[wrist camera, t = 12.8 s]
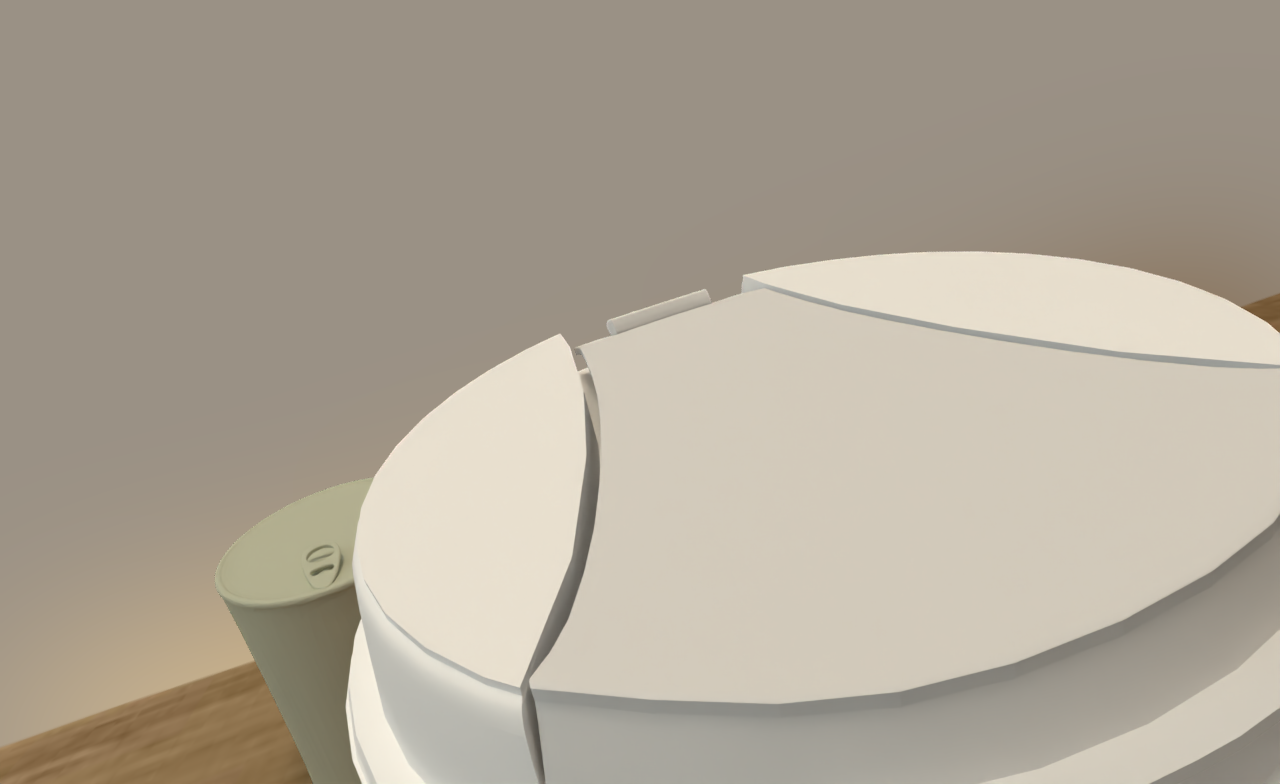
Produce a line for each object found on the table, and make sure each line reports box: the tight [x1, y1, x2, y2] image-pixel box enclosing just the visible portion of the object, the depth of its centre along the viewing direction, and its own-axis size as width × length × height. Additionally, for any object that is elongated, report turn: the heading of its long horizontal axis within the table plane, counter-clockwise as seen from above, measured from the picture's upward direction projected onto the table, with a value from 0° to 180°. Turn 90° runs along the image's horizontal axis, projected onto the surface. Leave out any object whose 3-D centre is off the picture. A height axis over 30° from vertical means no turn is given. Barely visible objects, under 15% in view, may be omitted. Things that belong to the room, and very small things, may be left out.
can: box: [215, 478, 374, 784], centre depth 38 cm, size 9×9×12 cm
